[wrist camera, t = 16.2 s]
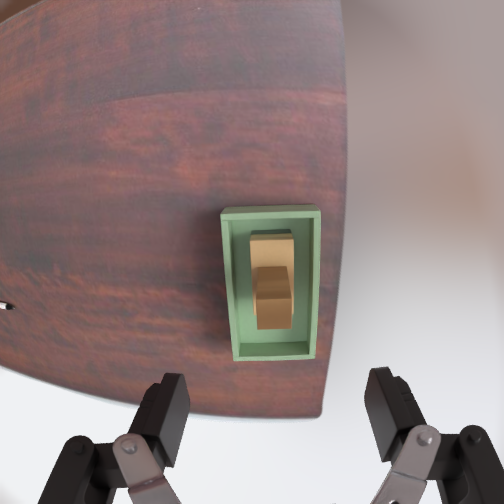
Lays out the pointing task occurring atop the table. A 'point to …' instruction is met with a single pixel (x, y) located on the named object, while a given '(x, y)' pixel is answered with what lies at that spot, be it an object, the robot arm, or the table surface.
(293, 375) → the table surface
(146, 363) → the table surface
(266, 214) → the tray
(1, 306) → the pen
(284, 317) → the scrub brush
